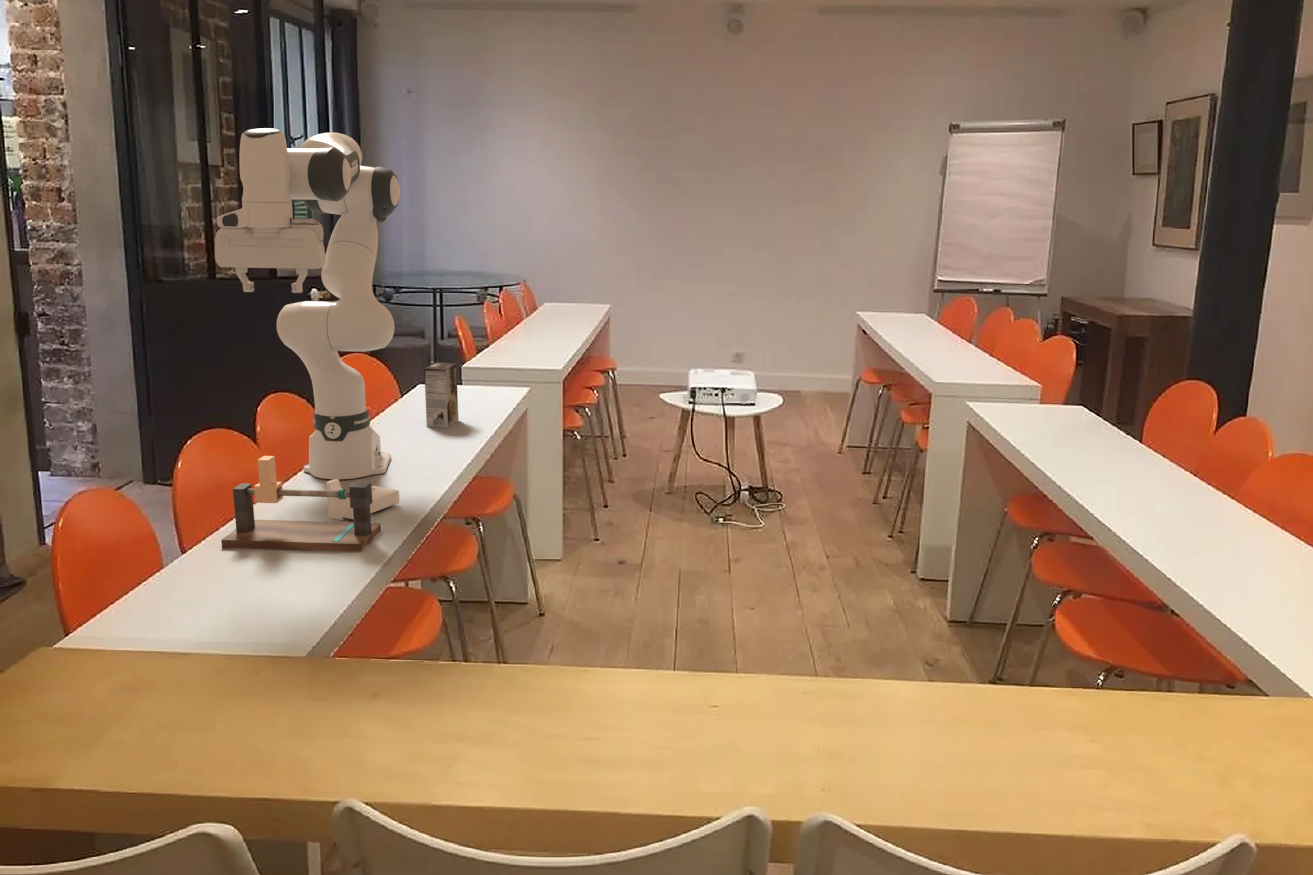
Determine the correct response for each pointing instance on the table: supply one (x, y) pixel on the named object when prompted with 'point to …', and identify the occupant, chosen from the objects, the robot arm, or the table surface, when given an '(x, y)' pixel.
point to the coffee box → (441, 394)
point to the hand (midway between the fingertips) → (273, 292)
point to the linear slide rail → (304, 523)
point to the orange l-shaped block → (267, 481)
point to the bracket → (342, 506)
